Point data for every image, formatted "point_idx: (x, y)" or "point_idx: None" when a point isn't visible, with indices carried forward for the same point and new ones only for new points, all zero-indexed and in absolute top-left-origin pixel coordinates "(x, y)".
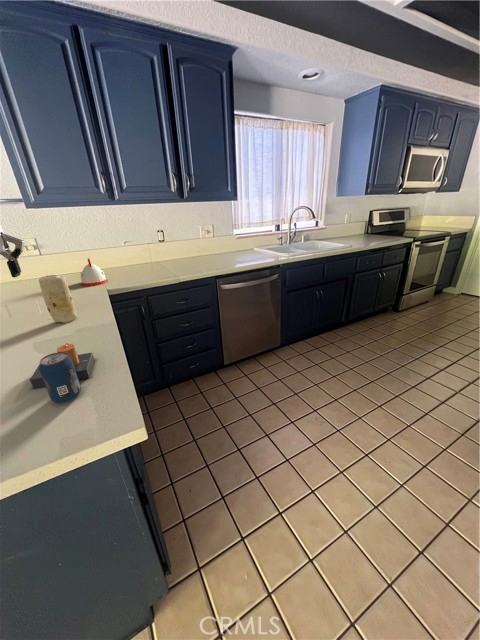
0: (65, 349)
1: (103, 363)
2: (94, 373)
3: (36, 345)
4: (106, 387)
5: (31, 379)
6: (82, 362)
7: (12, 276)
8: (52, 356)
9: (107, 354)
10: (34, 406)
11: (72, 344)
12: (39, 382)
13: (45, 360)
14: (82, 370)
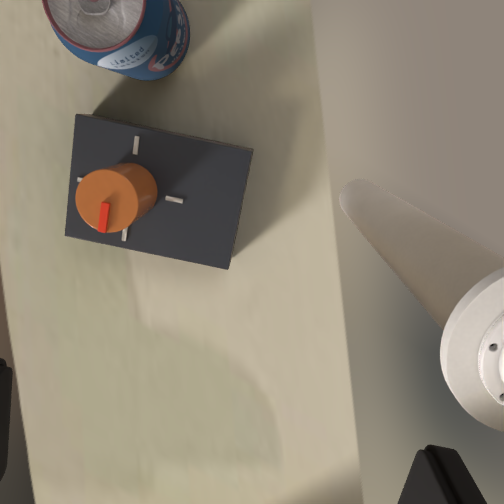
0: (105, 183)
1: (48, 188)
2: None
3: (270, 440)
4: (32, 18)
5: (246, 150)
6: None
7: (3, 367)
8: (107, 36)
9: (37, 245)
10: (240, 37)
11: (83, 216)
12: (229, 145)
13: (127, 4)
14: (89, 117)
